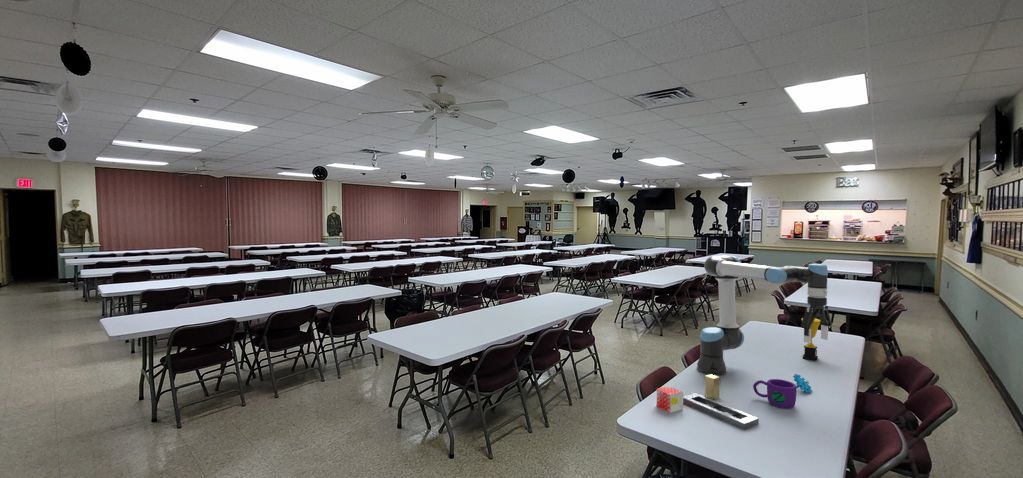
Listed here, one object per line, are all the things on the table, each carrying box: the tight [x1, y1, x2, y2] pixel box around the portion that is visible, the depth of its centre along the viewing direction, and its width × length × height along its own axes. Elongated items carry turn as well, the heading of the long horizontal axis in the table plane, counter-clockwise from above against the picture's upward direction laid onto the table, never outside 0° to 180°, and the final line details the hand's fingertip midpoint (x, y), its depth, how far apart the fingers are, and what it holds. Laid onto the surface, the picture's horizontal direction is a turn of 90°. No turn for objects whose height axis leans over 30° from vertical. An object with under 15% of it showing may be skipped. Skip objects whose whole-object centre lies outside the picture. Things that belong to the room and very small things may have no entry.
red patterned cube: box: [656, 385, 684, 414], centre depth 189 cm, size 8×8×8 cm
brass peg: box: [704, 374, 721, 400], centre depth 201 cm, size 4×4×10 cm
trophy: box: [801, 317, 822, 362], centre depth 258 cm, size 19×10×30 cm, turn 138°
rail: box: [683, 392, 760, 431], centre depth 184 cm, size 30×10×2 cm, turn 29°
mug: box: [752, 378, 798, 410], centre depth 194 cm, size 17×11×10 cm, turn 45°
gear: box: [792, 373, 813, 394], centre depth 209 cm, size 11×6×10 cm
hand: (815, 340), depth 200 cm, fingers open, 13 cm apart
